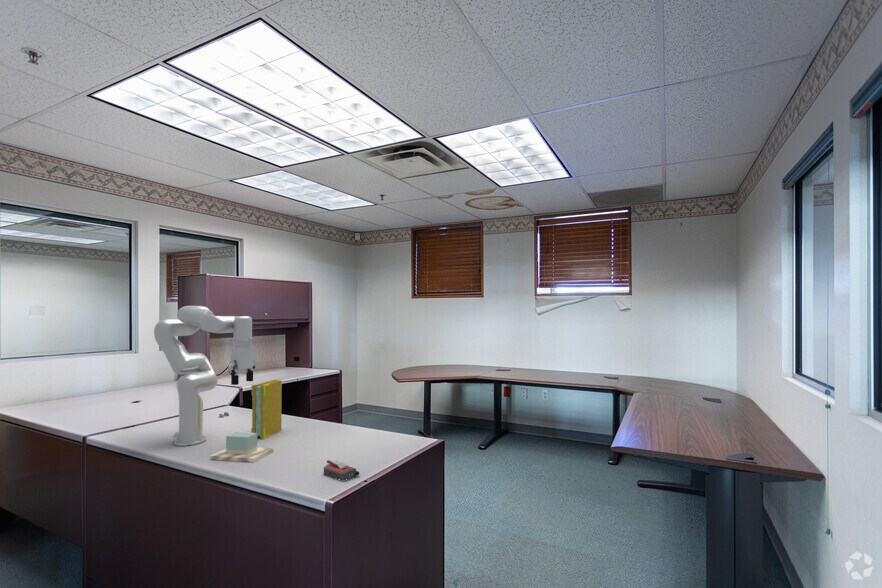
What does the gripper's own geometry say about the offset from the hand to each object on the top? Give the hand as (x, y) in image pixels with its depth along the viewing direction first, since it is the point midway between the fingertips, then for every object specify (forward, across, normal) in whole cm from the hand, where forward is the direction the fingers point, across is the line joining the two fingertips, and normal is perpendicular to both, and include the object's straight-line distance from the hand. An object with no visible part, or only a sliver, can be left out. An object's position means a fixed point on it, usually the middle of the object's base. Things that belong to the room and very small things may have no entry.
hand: (242, 382), depth 184 cm
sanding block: (+27, +9, +7) cm, 29 cm away
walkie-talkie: (+29, +20, +54) cm, 65 cm away
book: (+28, -22, -2) cm, 36 cm away
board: (+28, +9, +7) cm, 31 cm away
